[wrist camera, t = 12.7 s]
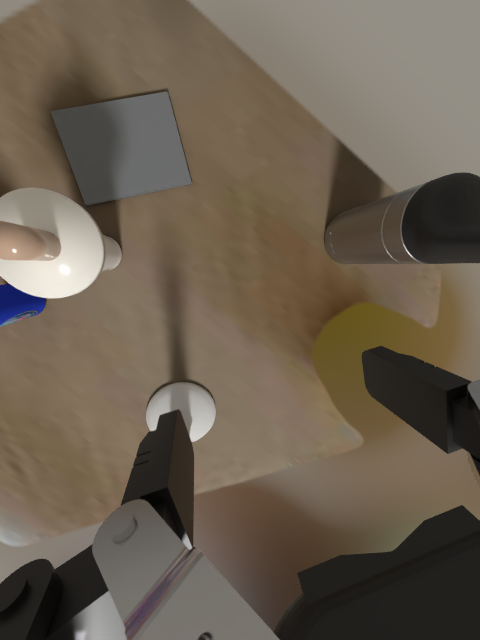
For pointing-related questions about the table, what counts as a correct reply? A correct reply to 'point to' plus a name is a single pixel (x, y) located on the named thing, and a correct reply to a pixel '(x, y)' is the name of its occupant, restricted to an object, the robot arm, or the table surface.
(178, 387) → the candlestick
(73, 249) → the lid
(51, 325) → the table surface
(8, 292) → the beverage can
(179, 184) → the mat
